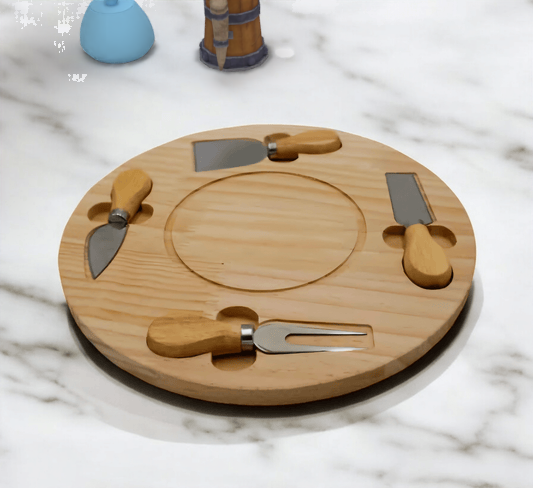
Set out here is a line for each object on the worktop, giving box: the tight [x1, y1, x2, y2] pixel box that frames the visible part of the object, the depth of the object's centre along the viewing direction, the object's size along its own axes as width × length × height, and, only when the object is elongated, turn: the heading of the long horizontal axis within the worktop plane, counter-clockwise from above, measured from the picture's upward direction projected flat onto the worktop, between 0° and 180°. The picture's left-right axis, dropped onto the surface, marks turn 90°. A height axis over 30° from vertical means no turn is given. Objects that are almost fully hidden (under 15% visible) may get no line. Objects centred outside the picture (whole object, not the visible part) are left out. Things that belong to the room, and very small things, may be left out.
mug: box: [198, 0, 269, 73], centre depth 125 cm, size 19×14×20 cm
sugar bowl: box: [79, 0, 156, 65], centre depth 131 cm, size 15×15×12 cm
